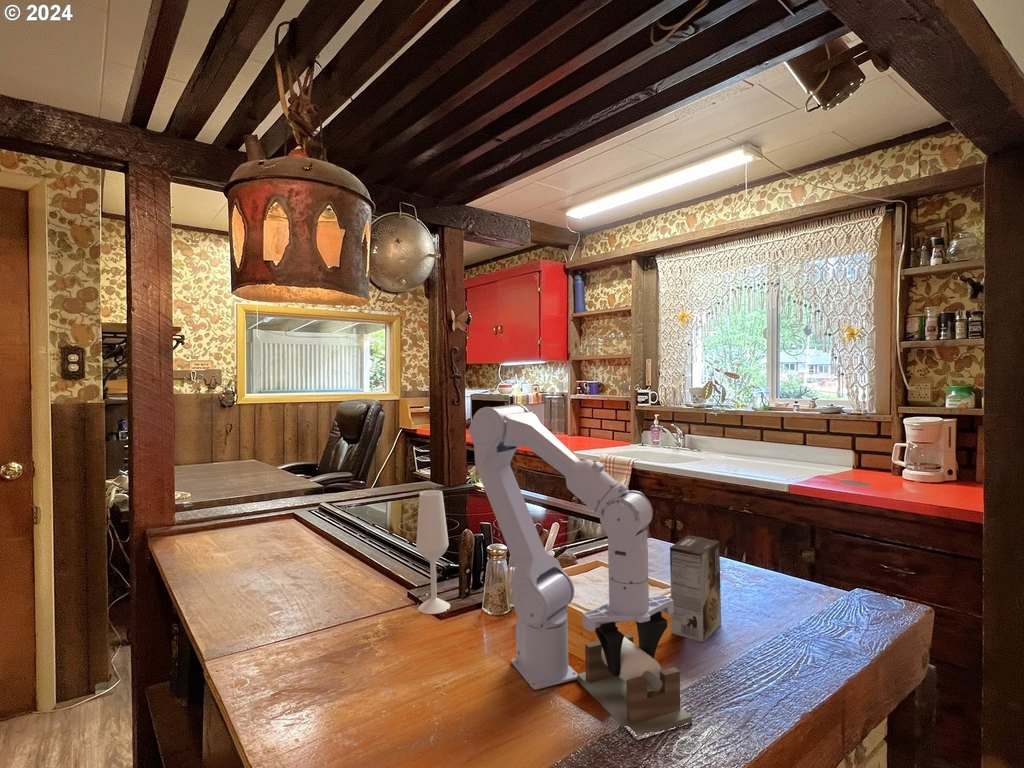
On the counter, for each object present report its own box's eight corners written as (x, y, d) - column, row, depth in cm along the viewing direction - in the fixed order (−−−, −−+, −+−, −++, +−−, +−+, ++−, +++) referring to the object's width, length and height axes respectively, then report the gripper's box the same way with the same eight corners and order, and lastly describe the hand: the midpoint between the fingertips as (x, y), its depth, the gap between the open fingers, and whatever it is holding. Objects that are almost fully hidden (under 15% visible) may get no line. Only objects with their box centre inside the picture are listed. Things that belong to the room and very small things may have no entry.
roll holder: (577, 680, 88) (576, 639, 88) (625, 667, 92) (625, 628, 92) (636, 741, 74) (635, 692, 74) (692, 723, 77) (691, 676, 77)
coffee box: (689, 616, 110) (687, 534, 110) (722, 624, 106) (721, 540, 106) (669, 633, 103) (668, 546, 103) (704, 643, 99) (703, 552, 99)
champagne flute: (413, 604, 119) (410, 491, 118) (443, 598, 122) (440, 488, 122) (423, 616, 113) (420, 497, 113) (455, 609, 116) (452, 493, 116)
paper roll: (594, 663, 88) (591, 632, 88) (621, 654, 90) (618, 623, 89) (643, 709, 76) (640, 673, 76) (674, 697, 78) (670, 662, 77)
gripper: (599, 595, 76) (601, 694, 76) (686, 577, 81) (688, 670, 82) (574, 577, 82) (576, 669, 83) (656, 562, 88) (658, 648, 88)
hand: (630, 668), depth 83 cm, fingers closed on paper roll, 5 cm apart
